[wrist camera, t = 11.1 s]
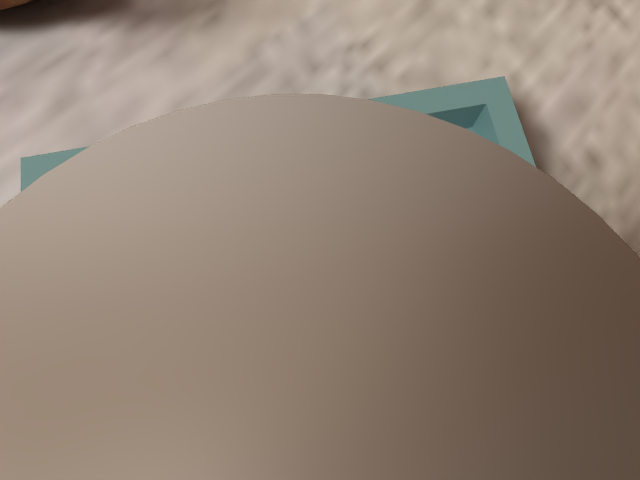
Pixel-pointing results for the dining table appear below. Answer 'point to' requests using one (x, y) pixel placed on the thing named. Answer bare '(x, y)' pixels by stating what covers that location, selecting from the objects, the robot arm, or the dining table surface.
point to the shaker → (313, 306)
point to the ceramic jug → (11, 3)
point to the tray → (443, 103)
